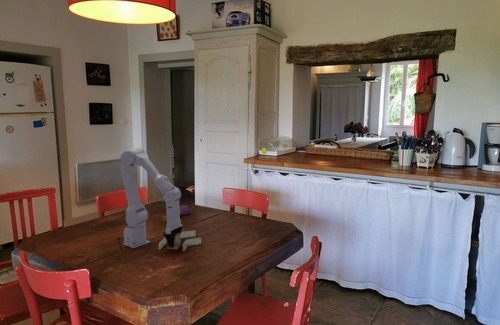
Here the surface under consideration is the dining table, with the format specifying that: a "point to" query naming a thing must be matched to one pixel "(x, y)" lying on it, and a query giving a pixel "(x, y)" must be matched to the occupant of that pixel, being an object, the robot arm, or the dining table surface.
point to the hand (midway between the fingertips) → (174, 244)
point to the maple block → (176, 242)
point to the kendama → (183, 211)
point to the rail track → (187, 242)
